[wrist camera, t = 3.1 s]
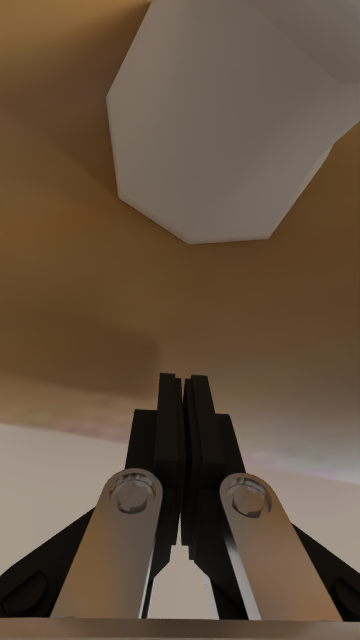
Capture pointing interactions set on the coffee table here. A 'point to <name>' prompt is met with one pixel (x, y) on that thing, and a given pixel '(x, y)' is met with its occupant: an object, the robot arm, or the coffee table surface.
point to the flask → (231, 110)
